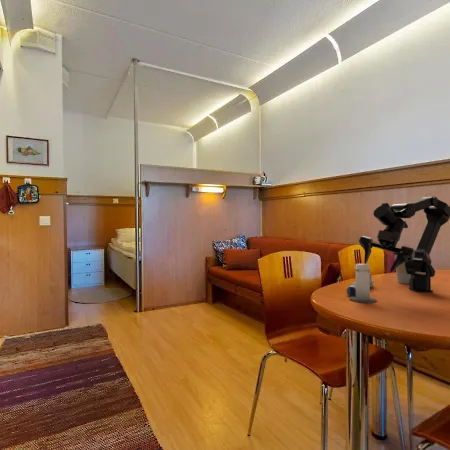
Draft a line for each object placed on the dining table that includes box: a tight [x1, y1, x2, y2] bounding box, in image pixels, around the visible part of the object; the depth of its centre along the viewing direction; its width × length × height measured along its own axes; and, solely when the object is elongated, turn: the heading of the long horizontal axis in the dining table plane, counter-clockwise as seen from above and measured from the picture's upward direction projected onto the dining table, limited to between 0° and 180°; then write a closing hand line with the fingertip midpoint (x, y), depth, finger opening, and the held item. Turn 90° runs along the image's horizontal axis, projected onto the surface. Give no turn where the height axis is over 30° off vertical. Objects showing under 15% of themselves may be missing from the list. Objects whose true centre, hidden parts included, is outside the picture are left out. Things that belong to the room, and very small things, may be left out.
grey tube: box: [346, 273, 375, 297], centre depth 127 cm, size 5×7×25 cm
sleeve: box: [355, 263, 371, 301], centre depth 111 cm, size 5×5×12 cm
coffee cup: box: [392, 252, 411, 284], centre depth 143 cm, size 9×9×15 cm
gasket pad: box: [348, 295, 378, 304], centre depth 111 cm, size 9×9×1 cm
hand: (377, 267), depth 115 cm, fingers open, 9 cm apart
